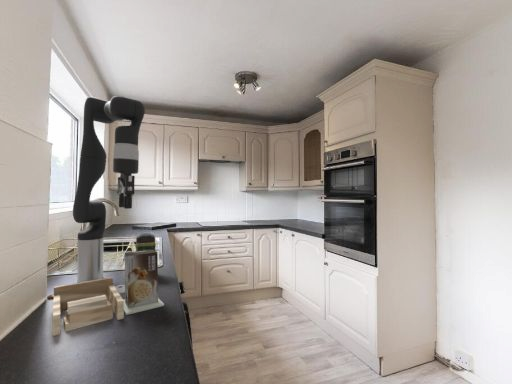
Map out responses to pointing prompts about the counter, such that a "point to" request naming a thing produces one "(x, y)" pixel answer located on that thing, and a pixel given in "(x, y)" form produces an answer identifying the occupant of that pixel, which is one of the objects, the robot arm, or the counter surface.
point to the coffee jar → (145, 242)
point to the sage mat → (142, 307)
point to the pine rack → (82, 292)
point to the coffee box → (141, 278)
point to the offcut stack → (87, 312)
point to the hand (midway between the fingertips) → (125, 207)
